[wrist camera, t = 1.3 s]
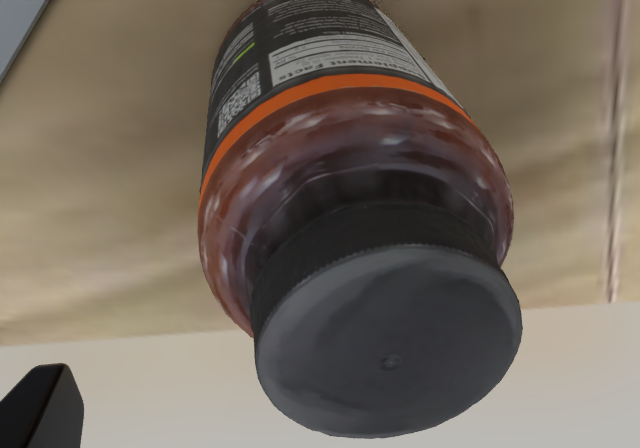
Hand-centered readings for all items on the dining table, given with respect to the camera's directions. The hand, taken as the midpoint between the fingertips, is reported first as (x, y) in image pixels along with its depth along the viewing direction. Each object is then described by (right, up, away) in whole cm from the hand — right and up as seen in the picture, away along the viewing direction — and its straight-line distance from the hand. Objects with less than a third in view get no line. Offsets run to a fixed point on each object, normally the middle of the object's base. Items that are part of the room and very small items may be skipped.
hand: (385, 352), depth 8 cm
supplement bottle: (-1, +6, +9) cm, 11 cm away
